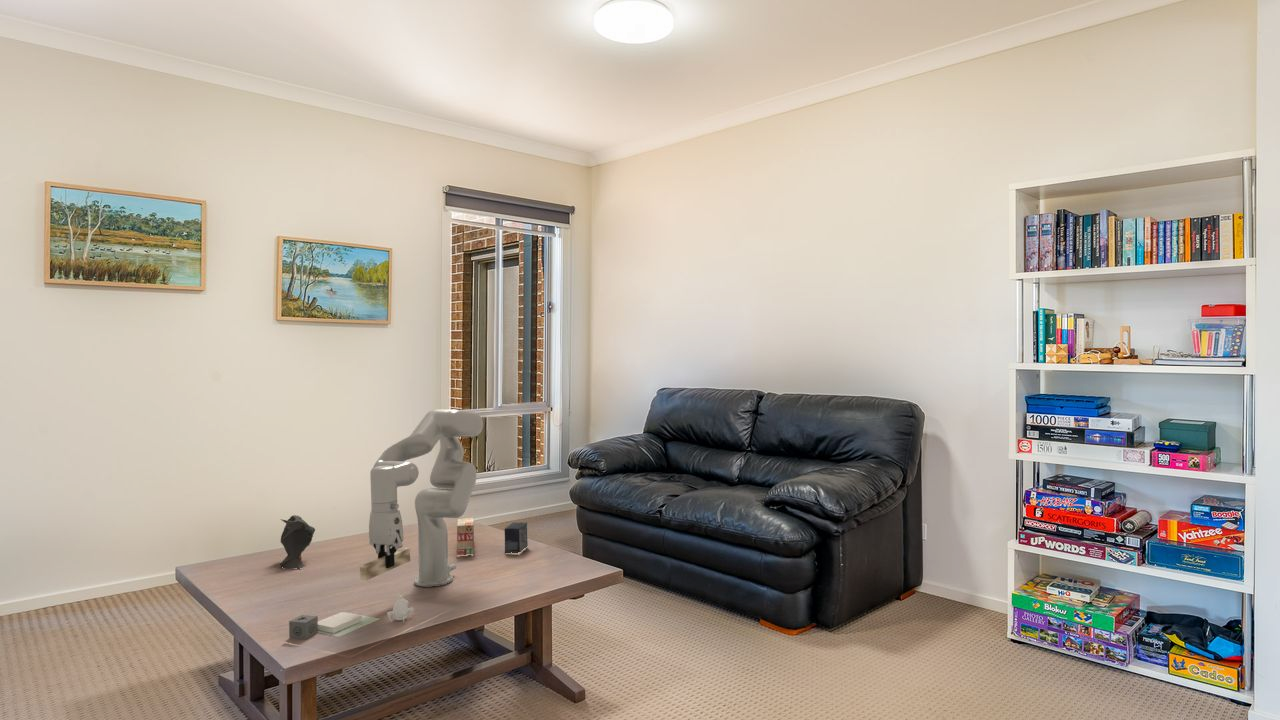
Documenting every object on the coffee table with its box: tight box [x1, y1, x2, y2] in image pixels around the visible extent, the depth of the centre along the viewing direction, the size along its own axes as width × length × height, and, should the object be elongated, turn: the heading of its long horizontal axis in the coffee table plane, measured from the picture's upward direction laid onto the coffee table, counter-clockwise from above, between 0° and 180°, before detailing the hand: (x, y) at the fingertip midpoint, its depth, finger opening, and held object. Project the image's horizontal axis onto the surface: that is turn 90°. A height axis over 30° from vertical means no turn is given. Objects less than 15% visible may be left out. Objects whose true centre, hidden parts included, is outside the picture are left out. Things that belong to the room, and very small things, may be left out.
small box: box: [504, 522, 529, 554], centre depth 284 cm, size 11×6×10 cm, turn 172°
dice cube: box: [288, 614, 319, 640], centre depth 197 cm, size 5×5×5 cm
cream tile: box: [318, 611, 362, 633], centre depth 204 cm, size 2×8×10 cm
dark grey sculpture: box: [279, 514, 316, 570], centre depth 271 cm, size 14×15×18 cm
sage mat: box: [317, 611, 380, 638], centre depth 205 cm, size 15×14×1 cm
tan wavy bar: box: [359, 547, 411, 581], centre depth 221 cm, size 18×2×4 cm, turn 155°
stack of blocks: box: [456, 517, 475, 556], centre depth 288 cm, size 21×6×12 cm, turn 13°
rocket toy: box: [386, 593, 414, 623], centre depth 208 cm, size 5×5×8 cm
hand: (386, 565), depth 221 cm, fingers closed on tan wavy bar, 2 cm apart
